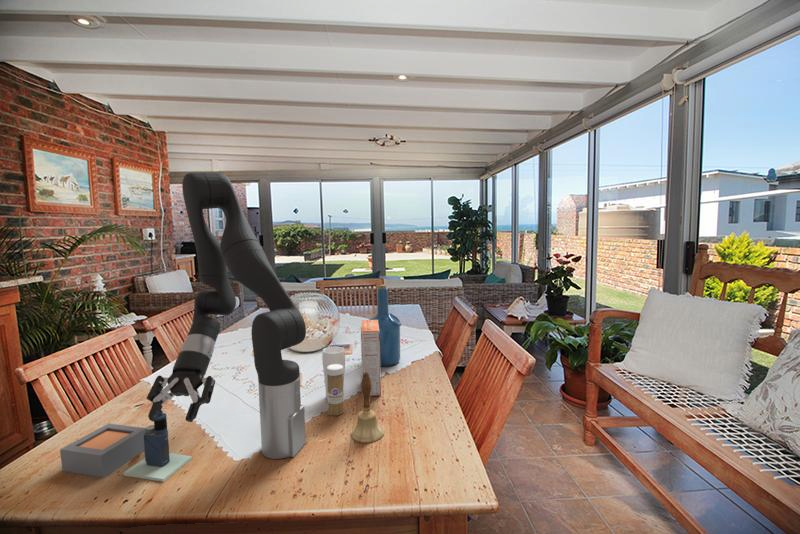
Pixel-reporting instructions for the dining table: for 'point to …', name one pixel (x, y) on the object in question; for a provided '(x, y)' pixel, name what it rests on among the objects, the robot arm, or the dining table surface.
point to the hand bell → (366, 417)
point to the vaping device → (157, 441)
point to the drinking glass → (333, 361)
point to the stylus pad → (158, 468)
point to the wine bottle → (387, 330)
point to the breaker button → (104, 440)
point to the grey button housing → (103, 452)
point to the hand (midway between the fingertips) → (170, 420)
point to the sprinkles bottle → (335, 389)
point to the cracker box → (371, 354)
